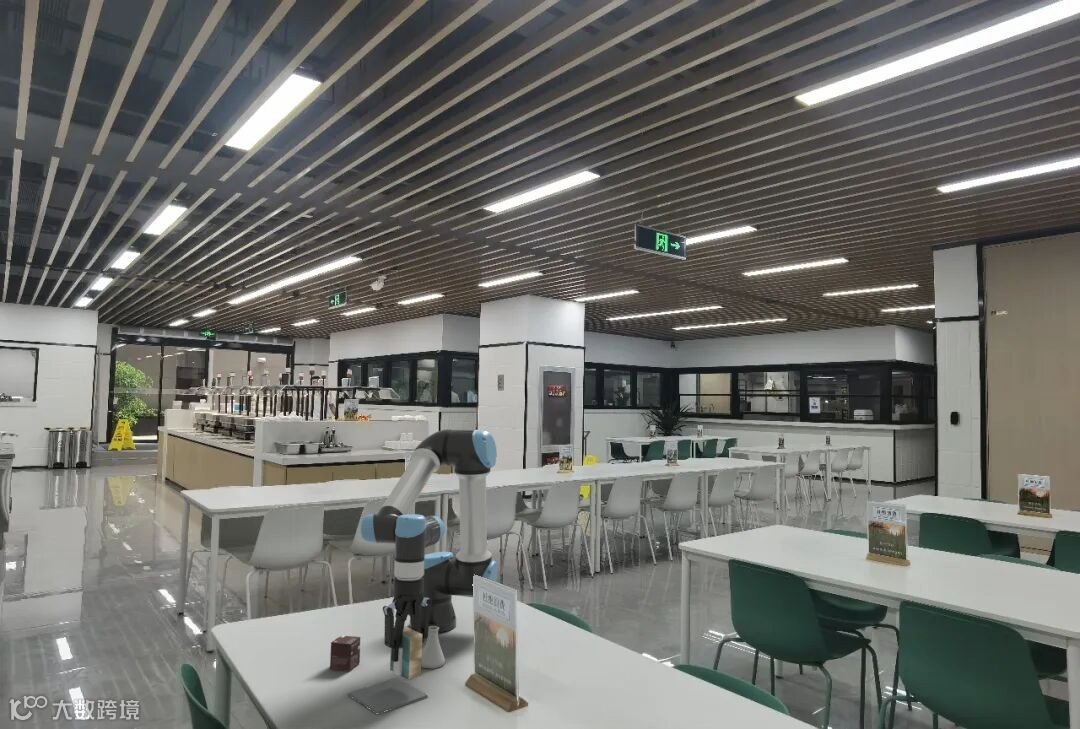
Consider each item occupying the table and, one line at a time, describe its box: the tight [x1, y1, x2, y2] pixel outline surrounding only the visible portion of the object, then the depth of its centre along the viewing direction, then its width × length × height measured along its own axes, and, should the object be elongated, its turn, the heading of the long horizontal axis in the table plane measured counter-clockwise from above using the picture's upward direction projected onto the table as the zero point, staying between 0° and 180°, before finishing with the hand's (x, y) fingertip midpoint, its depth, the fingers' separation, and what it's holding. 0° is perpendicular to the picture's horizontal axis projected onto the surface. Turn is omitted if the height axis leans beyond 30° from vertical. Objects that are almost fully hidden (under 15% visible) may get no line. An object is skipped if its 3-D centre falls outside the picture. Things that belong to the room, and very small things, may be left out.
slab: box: [389, 625, 423, 680], centre depth 167 cm, size 4×8×10 cm, turn 43°
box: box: [329, 635, 361, 672], centre depth 181 cm, size 6×6×7 cm
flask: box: [421, 626, 446, 670], centre depth 185 cm, size 7×7×10 cm
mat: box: [347, 677, 429, 714], centre depth 163 cm, size 14×14×1 cm
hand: (405, 671), depth 167 cm, fingers closed on slab, 4 cm apart
